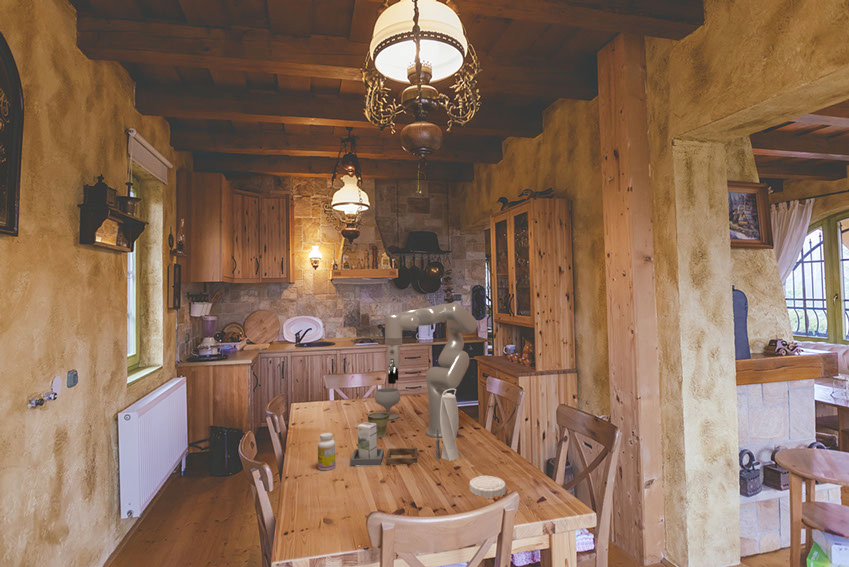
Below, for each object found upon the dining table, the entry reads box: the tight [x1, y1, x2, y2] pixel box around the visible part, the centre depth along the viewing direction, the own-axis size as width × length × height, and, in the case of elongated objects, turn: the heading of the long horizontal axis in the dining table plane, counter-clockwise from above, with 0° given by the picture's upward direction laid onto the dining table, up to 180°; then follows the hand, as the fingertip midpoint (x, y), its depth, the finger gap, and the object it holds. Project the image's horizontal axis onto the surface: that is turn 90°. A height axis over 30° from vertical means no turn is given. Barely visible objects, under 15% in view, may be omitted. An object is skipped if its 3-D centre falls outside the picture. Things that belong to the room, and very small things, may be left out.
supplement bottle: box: [317, 432, 336, 471], centre depth 171 cm, size 7×7×13 cm
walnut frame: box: [385, 447, 418, 466], centre depth 178 cm, size 12×12×2 cm
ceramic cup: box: [367, 411, 390, 439], centre depth 211 cm, size 13×10×10 cm
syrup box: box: [357, 421, 378, 459], centre depth 178 cm, size 6×6×14 cm
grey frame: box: [349, 448, 385, 467], centre depth 178 cm, size 12×12×2 cm
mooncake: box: [468, 474, 507, 498], centre depth 147 cm, size 12×12×4 cm
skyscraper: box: [435, 388, 460, 461], centre depth 177 cm, size 8×8×28 cm
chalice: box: [374, 387, 401, 421], centre depth 242 cm, size 14×14×15 cm
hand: (393, 381), depth 192 cm, fingers open, 9 cm apart
